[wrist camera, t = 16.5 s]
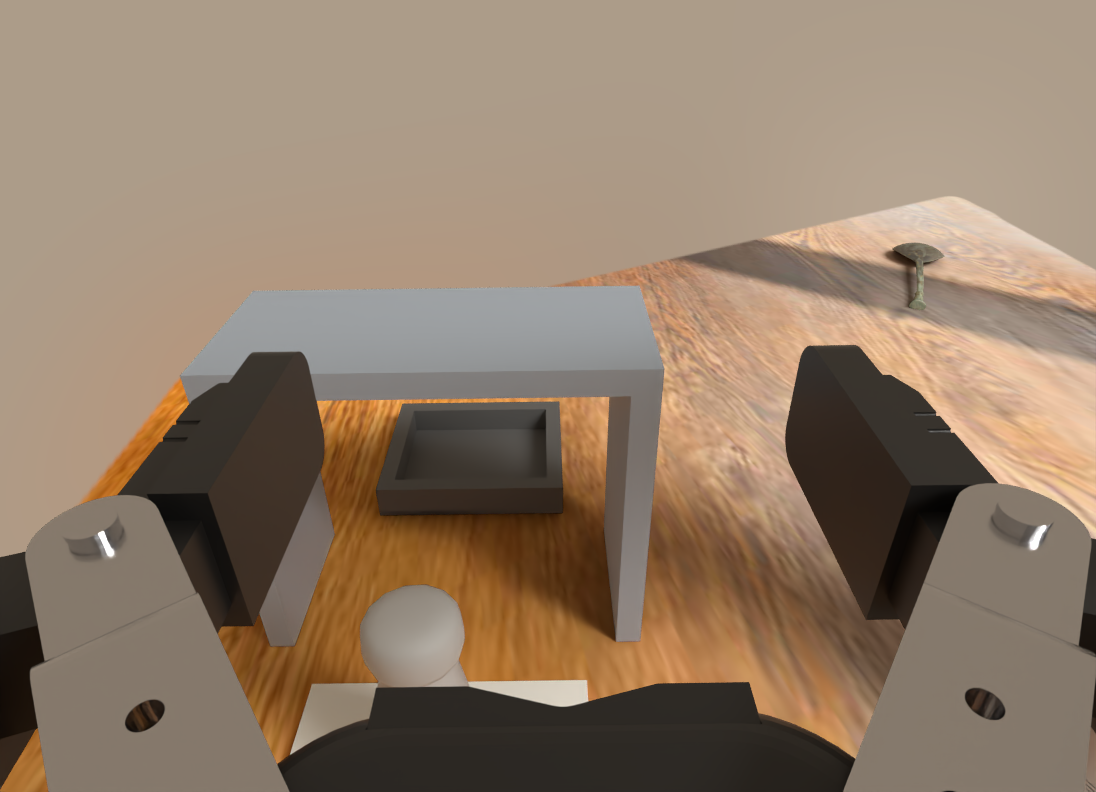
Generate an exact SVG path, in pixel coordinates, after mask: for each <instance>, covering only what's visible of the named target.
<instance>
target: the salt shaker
mask: <svg viewBox="0 0 1096 792" xmlns="http://www.w3.org/2000/svg"><path fill="white" fill-rule="evenodd" d="M360 641H361V652H362V656H363V659H364V663H365V665H366V666H367V667H368V669H369V670H370V671H371V672H372V674H373V675H374V676H375V678H376V679H377V680H378V688H381V687H452V686H469V684H468V681H467V679H466V676H465V674H464V672H463V669H462V667H461V664H460V662H459V657H460V653H461V650H462V647H463V644H464V641H465V633H464V625H463V621H462V616H461V612H460V609H459V607H458V604H457V602H456V601H455V600H454V599H453V598H452V597H451V596H449V595H448V594H447V593H446V592H445V591H444V590H441V589H438V588H435V587H432V586H429V585H410V586H403V587H401V588H398V589H395V590H393V591H390V592H388V593H385V594H384V595H383V596H381V597H380V598H379V599H378V600H377V601H376V602H375V603H373V604H372V605H371V606H370V607H369V608H368V610H367V612H366V614H365V616H364V618H363V620H362V622H361V624H360ZM469 687H470V686H469Z"/></svg>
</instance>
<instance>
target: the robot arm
mask: <svg viewBox="0 0 1096 792" xmlns="http://www.w3.org/2000/svg"><path fill="white" fill-rule="evenodd" d="M950 429H951V428H950V427H949V426H948V425H947V424H946V423H945V421H944V420H943V419H942V418H941V417H940V416H936V411H935V410H934V409H933V408H932V407H931V405H930V404H929V403H928V402H927V401H926V400H925V399H924V397H923V396H922V395H921V394H920V393H919V392H918V391H916V390H915V389H913V388H911V387H910V386H908V385H906V384H905V383H903V382H901V381H900V380H898V379H896V378H895V377H893V376H892V375H882V374H881V373H880V371H879V370H878V369H877V368H876V367H875V365H874V364H873V363H872V362H871V360H870V359H869V358H868V357H867V356H866V354H865V353H864V352H863V351H862V349H861V348H860V347H858V346H856V345H829V346H807V347H806V348H805V349H804V351H803V353H802V355H801V358H800V362H799V367H798V372H797V377H796V382H795V386H794V391H793V396H792V401H791V406H790V411H789V416H788V421H787V426H786V435H785V443H786V452H787V457H788V461H789V464H790V466H791V468H792V470H793V472H794V474H795V476H796V478H797V480H798V482H799V484H800V486H801V488H802V490H803V492H804V495H805V497H806V499H807V501H808V503H809V505H810V507H811V509H812V511H813V513H814V515H815V517H816V519H817V521H818V523H819V525H820V527H821V529H822V531H823V533H824V535H825V537H826V539H827V541H828V543H829V545H830V547H831V549H832V551H833V553H834V555H835V558H836V560H837V562H838V564H839V566H840V568H841V570H842V572H843V574H844V576H845V578H846V580H847V582H848V584H849V586H850V588H851V590H852V592H853V594H854V596H855V598H856V600H857V602H858V604H859V606H860V608H861V610H862V612H863V614H864V616H865V618H866V620H879V619H900V621H901V623H902V625H903V627H904V628H905V633H904V635H903V638H902V640H901V643H900V645H899V648H898V651H897V653H896V656H895V658H894V661H893V664H892V666H891V669H890V671H889V674H888V677H887V679H886V682H885V684H884V687H883V689H882V692H881V695H880V697H879V700H878V702H877V705H876V708H875V710H874V713H873V715H872V718H871V721H870V723H869V726H868V728H867V731H866V733H865V736H864V739H863V741H862V744H861V746H860V749H859V752H858V754H857V757H856V759H855V758H853V757H852V756H850V755H849V754H848V753H846V752H845V751H843V750H842V749H840V748H839V747H837V746H836V745H834V744H832V743H831V742H829V741H827V740H825V739H824V738H822V737H820V736H818V735H817V734H815V733H812V732H810V731H808V730H806V729H804V728H801V727H799V726H797V725H795V724H792V723H789V722H787V721H784V720H781V719H778V718H775V717H772V716H768V715H764V714H760V713H758V711H757V708H756V704H755V701H754V697H753V694H752V690H751V687H750V684H749V682H733V683H663V684H654V685H650V686H646V687H642V688H639V689H635V690H631V691H627V692H623V693H619V694H615V695H612V696H608V697H604V698H600V699H596V700H592V701H588V702H585V703H581V704H577V705H573V706H567V707H559V706H552V705H548V704H544V703H539V702H535V701H530V700H526V699H522V698H517V697H513V696H508V695H504V694H500V693H495V692H491V691H486V690H482V689H478V688H473V687H469V686H452V687H381V688H376V690H375V695H374V699H373V704H372V708H371V712H370V717H369V719H365V720H361V721H358V722H355V723H352V724H349V725H347V726H344V727H341V728H339V729H336V730H333V731H331V732H329V733H327V734H325V735H323V736H321V737H319V738H317V739H315V740H313V741H311V742H310V743H308V744H306V745H305V746H303V747H302V748H300V749H298V750H297V751H295V752H294V753H292V754H290V755H289V756H288V757H286V758H285V759H284V760H282V761H281V762H280V763H278V764H277V763H276V761H275V759H274V757H273V755H272V752H271V750H270V748H269V746H268V744H267V741H266V739H265V737H264V735H263V733H262V731H261V728H260V726H259V724H258V722H257V720H256V717H255V715H254V713H253V711H252V709H251V706H250V704H249V702H248V700H247V698H246V696H245V693H244V691H243V689H242V687H241V685H240V682H239V680H238V678H237V676H236V674H235V672H234V669H233V667H232V665H231V663H230V661H229V658H228V656H227V654H226V652H225V650H224V647H223V645H222V643H221V641H220V639H219V637H218V632H219V630H220V628H221V626H254V624H255V621H256V619H257V617H258V614H259V612H260V610H261V607H262V605H263V603H264V601H265V598H266V596H267V594H268V591H269V589H270V587H271V584H272V582H273V580H274V577H275V575H276V573H277V570H278V568H279V566H280V563H281V561H282V559H283V556H284V554H285V552H286V549H287V547H288V545H289V542H290V540H291V538H292V536H293V533H294V531H295V529H296V526H297V524H298V522H299V519H300V517H301V515H302V512H303V510H304V508H305V505H306V503H307V501H308V498H309V496H310V494H311V491H312V489H313V487H314V484H315V482H316V480H317V478H318V475H319V473H320V470H321V468H322V464H323V458H324V434H323V429H322V424H321V420H320V415H319V410H318V406H317V401H316V397H315V392H314V388H313V383H312V379H311V374H310V369H309V365H308V362H307V359H306V357H305V356H304V354H303V353H302V352H299V351H297V352H252V353H251V354H250V355H249V356H248V357H247V358H246V360H245V361H244V362H243V364H242V365H241V367H240V368H239V369H238V371H237V372H236V373H235V375H234V376H233V377H232V379H231V380H230V381H229V383H218V384H217V385H215V386H214V387H212V388H210V389H209V390H207V391H206V392H204V393H203V394H201V395H200V396H198V397H197V398H195V399H194V400H192V401H191V403H190V404H189V405H188V406H187V408H186V409H185V410H184V412H183V413H182V414H181V415H180V417H179V418H178V419H177V420H176V425H172V427H171V428H170V429H169V431H168V432H167V433H166V434H165V436H164V437H163V442H159V443H158V444H157V446H156V447H155V448H154V450H153V451H152V452H151V453H150V455H149V456H148V457H147V458H146V460H145V461H144V462H143V463H142V465H141V466H140V467H139V469H138V470H137V471H136V472H135V474H134V475H133V476H132V477H131V479H130V480H129V481H128V482H127V484H126V485H125V486H124V488H123V489H122V490H121V491H120V493H119V494H118V495H117V496H110V497H104V498H100V499H95V500H92V501H89V502H86V503H83V504H81V505H78V506H76V507H74V508H72V509H70V510H68V511H66V512H64V513H62V514H60V515H59V516H58V517H55V518H54V519H52V520H51V521H50V522H49V523H47V524H46V525H45V526H44V527H42V528H41V530H39V531H38V532H37V533H36V535H35V536H34V537H33V538H32V539H31V541H30V543H29V545H28V546H27V550H26V552H22V553H18V554H13V555H9V556H5V557H0V789H1V787H2V785H3V784H4V782H5V780H6V779H7V777H8V775H9V774H10V772H11V770H12V769H13V767H14V765H15V763H16V762H17V760H18V758H19V757H20V755H21V753H22V752H23V750H24V748H25V747H26V745H27V743H28V741H29V740H30V738H31V736H32V735H33V733H34V731H35V730H36V729H37V728H38V731H39V737H40V743H41V749H42V755H43V761H44V767H45V773H46V779H47V785H48V791H49V792H1096V539H1092V538H1091V537H1090V534H1089V532H1088V530H1087V529H1086V527H1085V525H1084V524H1083V523H1082V522H1081V521H1080V520H1079V519H1078V518H1077V517H1076V516H1075V515H1074V514H1073V513H1072V512H1070V511H1069V510H1068V509H1066V508H1065V507H1063V506H1062V505H1060V504H1059V503H1057V502H1055V501H1053V500H1052V499H1050V498H1047V497H1045V496H1043V495H1041V494H1039V493H1036V492H1033V491H1030V490H1027V489H1024V488H1020V487H1016V486H1012V485H1006V484H999V483H998V482H997V481H996V480H995V479H994V478H993V477H992V475H991V474H990V473H989V472H988V471H987V470H986V468H985V467H984V466H983V465H982V464H981V463H980V462H979V460H978V459H977V458H976V457H975V456H974V455H973V454H972V452H971V451H970V450H969V449H968V448H967V447H966V446H965V444H964V443H963V442H962V441H961V440H960V439H959V438H958V436H957V435H956V434H955V433H951V432H950Z"/></svg>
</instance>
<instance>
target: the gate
mask: <svg viewBox="0 0 1096 792" xmlns="http://www.w3.org/2000/svg"><path fill="white" fill-rule="evenodd" d="M297 351H299V352H302V353H303V354H304V356H305V357H306V359H307V362H308V365H309V369H310V374H311V379H312V383H313V388H314V392H315V397H316V401H326V400H400V399H475V398H549V397H609V420H608V444H607V467H606V491H605V514H604V537H605V546H606V555H607V564H608V573H609V582H610V591H611V600H612V609H613V618H614V628H615V637H616V642H623V641H640V637H641V626H642V615H643V603H644V592H645V581H646V570H647V559H648V547H649V536H650V525H651V514H652V503H653V491H654V480H655V469H656V458H657V447H658V435H659V424H660V413H661V402H662V391H663V379H664V366H663V363H662V360H661V356H660V353H659V350H658V346H657V343H656V340H655V336H654V333H653V330H652V326H651V323H650V320H649V316H648V313H647V310H646V306H645V303H644V300H643V296H642V293H641V290H640V286H591V287H519V288H518V287H516V288H446V289H445V288H443V289H441V288H440V289H368V290H367V289H363V290H291V291H290V290H289V291H288V290H286V291H253V292H252V293H251V294H250V295H249V297H248V298H247V299H246V300H245V301H244V303H242V305H241V306H240V307H239V308H238V309H237V310H236V312H235V313H234V314H233V315H232V316H231V318H229V320H228V321H227V322H226V323H225V324H224V325H223V327H222V328H221V329H220V330H219V331H218V332H217V334H216V335H215V336H214V337H213V338H212V339H211V340H210V342H209V343H208V344H207V345H206V346H205V347H204V349H203V350H202V351H201V352H200V353H199V354H198V355H197V357H196V358H195V359H194V360H193V361H192V362H191V364H190V365H189V366H188V367H187V368H186V369H185V370H184V372H183V373H182V374H181V375H180V377H181V380H182V383H183V386H184V389H185V392H186V395H187V398H188V401H189V404H190V403H191V401H192V400H194V399H195V398H197V397H198V396H200V395H201V394H203V393H204V392H206V391H207V390H209V389H210V388H212V387H214V386H215V385H217V384H218V383H229V381H230V380H231V379H232V377H233V376H234V375H235V373H236V372H237V371H238V369H239V368H240V367H241V365H242V364H243V362H244V361H245V360H246V358H247V357H248V356H249V355H250V354H251V353H252V352H297ZM334 535H335V533H334V529H333V524H332V520H331V516H330V511H329V507H328V503H327V498H326V494H325V490H324V485H323V481H322V477H321V472H320V473H319V475H318V478H317V480H316V482H315V484H314V487H313V489H312V491H311V494H310V496H309V498H308V501H307V503H306V505H305V508H304V510H303V512H302V515H301V517H300V519H299V522H298V524H297V526H296V529H295V531H294V533H293V536H292V538H291V540H290V542H289V545H288V547H287V549H286V552H285V554H284V556H283V559H282V561H281V563H280V566H279V568H278V570H277V573H276V575H275V577H274V580H273V582H272V584H271V587H270V589H269V591H268V594H267V596H266V598H265V601H264V603H263V605H262V607H261V610H260V612H259V614H260V617H261V620H262V623H263V626H264V629H265V632H266V635H267V638H268V641H269V644H270V646H295V644H296V641H297V638H298V635H299V632H300V630H301V627H302V624H303V621H304V618H305V616H306V613H307V610H308V607H309V604H310V602H311V599H312V596H313V593H314V591H315V588H316V585H317V582H318V579H319V577H320V574H321V571H322V568H323V565H324V563H325V560H326V557H327V554H328V551H329V549H330V546H331V543H332V540H333V538H334Z"/></svg>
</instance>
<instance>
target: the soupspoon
mask: <svg viewBox="0 0 1096 792" xmlns="http://www.w3.org/2000/svg"><path fill="white" fill-rule="evenodd" d="M893 250H895V251H897V252H899V253H900V254H902V255H904V256H906V257H907V258H909V259H911V260H913V261H914V262H915V263H916V271H917V272H916V273H917V292H916V293H915V297H914V301H912V302H911V303H910V304H909V307H910V308H913V309H918V310H924V309H925V308H926V305H925V303H924V302H923V295H924V294H923V282H924V281H923V263H925V262H931V261H934V260H937V259H940V258H943V257H944V255H943V254H942V253H941V252H940V251H939V250H937V249H936V248H934V247H932V246H929V245H926V244H921V243H906V244H902V245H899V246H896V247H894V248H893Z"/></svg>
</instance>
